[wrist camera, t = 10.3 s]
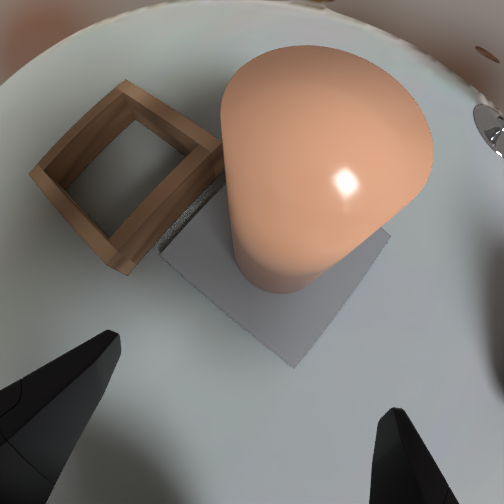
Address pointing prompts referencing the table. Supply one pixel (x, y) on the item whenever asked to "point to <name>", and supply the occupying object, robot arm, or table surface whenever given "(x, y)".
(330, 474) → the table surface
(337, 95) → the tan dome with tab
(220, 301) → the mat
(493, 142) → the wine glass
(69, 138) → the holder
